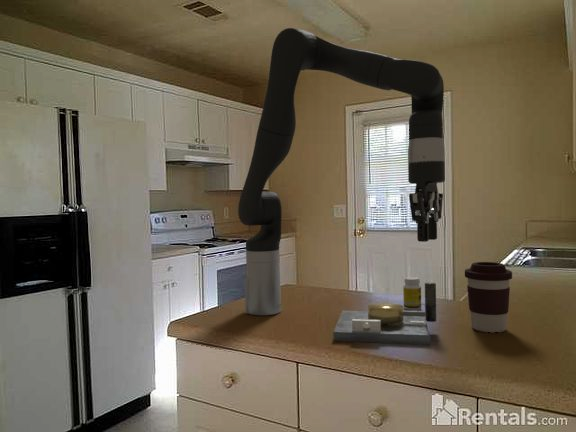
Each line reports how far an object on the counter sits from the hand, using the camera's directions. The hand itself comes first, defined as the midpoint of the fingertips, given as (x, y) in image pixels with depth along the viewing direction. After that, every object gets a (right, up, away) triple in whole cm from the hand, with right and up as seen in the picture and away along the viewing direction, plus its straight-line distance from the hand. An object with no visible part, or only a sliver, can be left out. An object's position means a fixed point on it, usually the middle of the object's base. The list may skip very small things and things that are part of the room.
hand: (427, 240), depth 99 cm
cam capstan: (-4, -19, +7) cm, 20 cm away
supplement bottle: (+4, -21, +27) cm, 34 cm away
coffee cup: (+16, -21, +6) cm, 27 cm away
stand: (-8, -21, +8) cm, 24 cm away
